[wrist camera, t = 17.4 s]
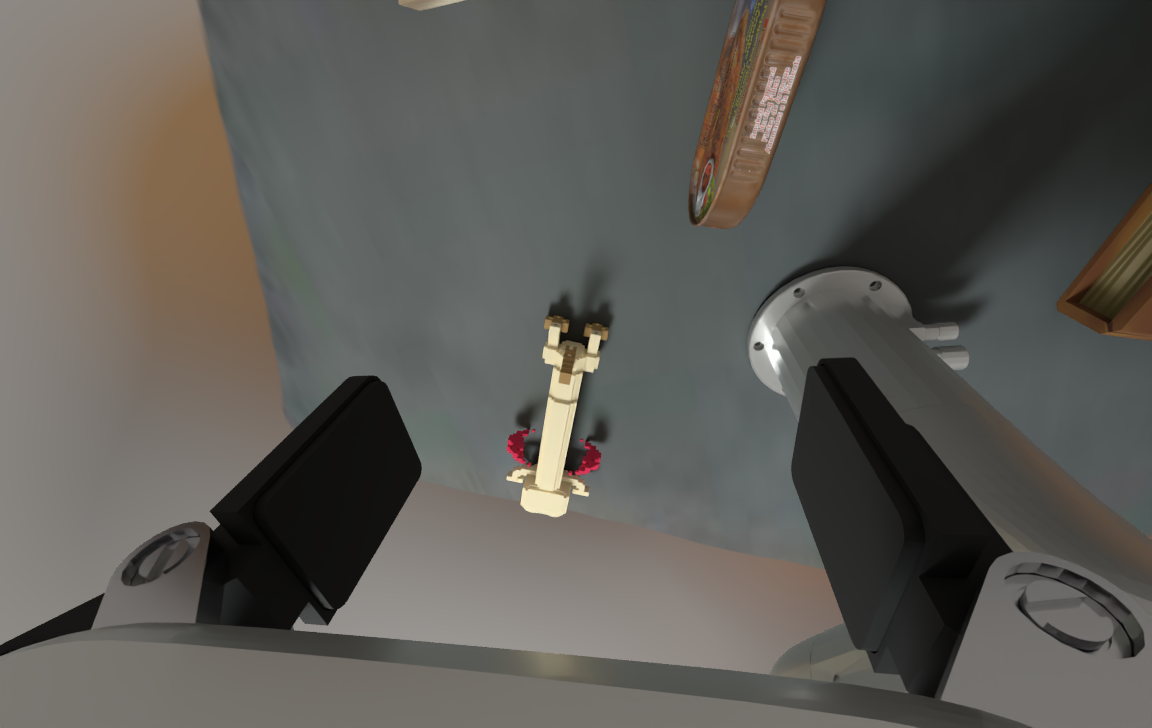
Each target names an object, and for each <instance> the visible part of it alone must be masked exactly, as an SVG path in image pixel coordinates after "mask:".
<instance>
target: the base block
mask: <svg viewBox="0 0 1152 728" xmlns="http://www.w3.org/2000/svg"><path fill="white" fill-rule="evenodd" d="M398 1H399V5H403V6H406V7H409V8H412V9H416V10H419V11H422V10H426V9H430V8H435V7H439V6H443V5H447V4H452V3H456V2H460V1H464V0H398Z"/></svg>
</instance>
